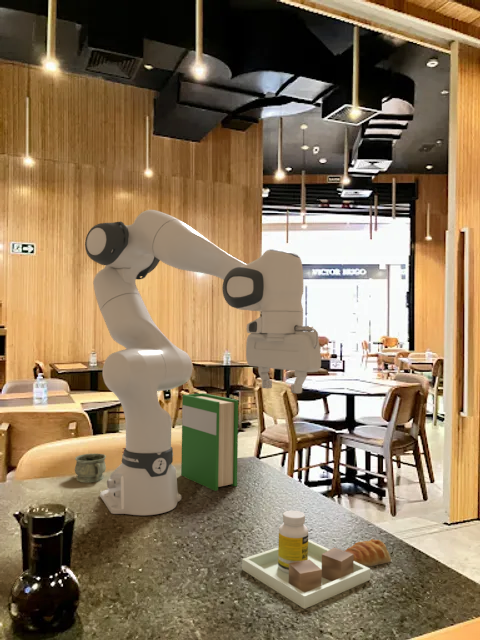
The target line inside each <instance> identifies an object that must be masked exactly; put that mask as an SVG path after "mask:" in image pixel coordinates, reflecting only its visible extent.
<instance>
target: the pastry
mask: <svg viewBox="0 0 480 640" xmlns="http://www.w3.org/2000/svg"><path fill="white" fill-rule="evenodd" d="M387 548H388V547H387V546H386V544H385V543H384V542H383V541H382V540H380V539H374V538H372V539H370V540H363V541H357V542H355V543H354V544H353V545H352V546H351V545H350V547H348V548H347V549H345V550H344V551H346V552H349V553H351V554H354V559H353V561H355V562H357V563H359V564H361V565H364V566H366V567H375V566H378V565H383V564H387V563H388V564H389V563H391V561H392V558H391V555H390V553H389V551H388V549H387Z"/></svg>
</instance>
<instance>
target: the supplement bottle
mask: <svg viewBox="0 0 480 640" xmlns="http://www.w3.org/2000/svg"><path fill="white" fill-rule="evenodd" d="M305 521H306V515H305V513H304V512H302V511H298V510H286V511H284V512H283V513H282V522H283V523H282V524H280V526H279V527H278V567H279V568H280V570H282V571H283V572H286V573H289V563H293V562H298V561H304V560H308V539H309V529H308V527H307V526H306V525H305Z"/></svg>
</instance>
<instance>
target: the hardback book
mask: <svg viewBox="0 0 480 640" xmlns="http://www.w3.org/2000/svg"><path fill="white" fill-rule="evenodd" d="M181 400H182V402H181V403H182V406H181V407H182V408H181V409H182V410H181V411H182V414H181V418H182V419H181V461H180V462H181V468H180V469H181V473H180V476H181V475H182V476H181V477H183V476H184V478H185V477H186V478H185V479H188V480H190V481H192V482H194V481H195V483H196V484H199V485H201V486H203V487H205V486H206V488H208V489H210V490H213V491H215V492H217V490H218V491H219V488H220V487H225V486H228V485H229V486H231V485H232V486H231V487H234V486H236V487H237V486H238V452H239V450H238V448H239V447H238V446H239V445H238V444H239V442H238V441H239V440H238V439H239V399H234V398H229V397H224V396H219V395H216V394H215V395H214V394H209V393H205V392H204V393H203V392H201V393H191V394H182V399H181Z"/></svg>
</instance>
